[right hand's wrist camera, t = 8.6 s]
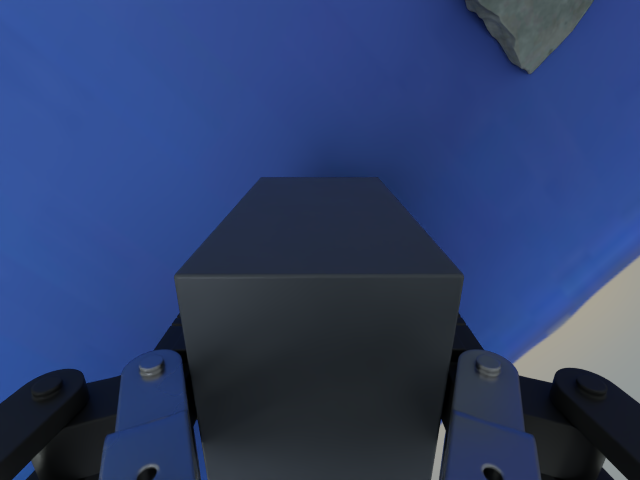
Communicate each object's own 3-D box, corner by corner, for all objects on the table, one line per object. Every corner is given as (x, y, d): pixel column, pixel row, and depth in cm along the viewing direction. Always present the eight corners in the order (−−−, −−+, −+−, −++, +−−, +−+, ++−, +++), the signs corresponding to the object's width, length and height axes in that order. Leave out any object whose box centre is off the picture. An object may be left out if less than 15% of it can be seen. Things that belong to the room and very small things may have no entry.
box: (260, 177, 17) (171, 275, 7) (378, 176, 17) (465, 275, 7) (279, 483, 24) (251, 744, 14) (360, 483, 24) (388, 744, 14)
